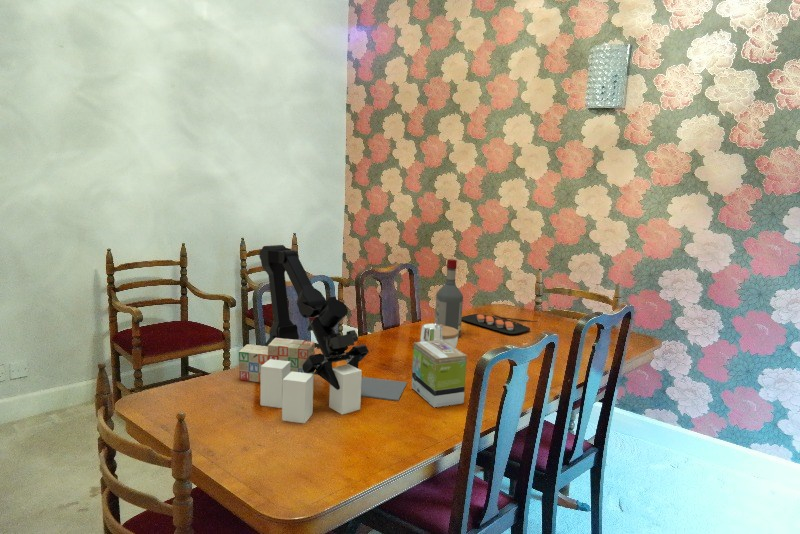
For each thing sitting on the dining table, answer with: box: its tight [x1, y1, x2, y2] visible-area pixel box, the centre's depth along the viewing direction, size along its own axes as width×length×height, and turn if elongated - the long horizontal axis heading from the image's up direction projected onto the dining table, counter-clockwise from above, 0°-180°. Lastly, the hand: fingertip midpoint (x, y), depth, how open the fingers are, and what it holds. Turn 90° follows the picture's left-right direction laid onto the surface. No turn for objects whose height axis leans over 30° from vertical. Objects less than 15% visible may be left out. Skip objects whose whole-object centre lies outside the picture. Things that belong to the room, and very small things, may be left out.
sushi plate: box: [461, 313, 539, 335], centre depth 253 cm, size 29×30×4 cm
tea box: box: [411, 340, 468, 409], centre depth 169 cm, size 15×10×15 cm, turn 24°
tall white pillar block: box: [281, 371, 314, 424], centre depth 151 cm, size 6×6×11 cm
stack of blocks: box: [238, 338, 316, 383], centre depth 174 cm, size 21×6×12 cm, turn 81°
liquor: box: [434, 258, 464, 338], centre depth 228 cm, size 9×9×30 cm
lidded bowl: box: [440, 324, 459, 349], centre depth 206 cm, size 13×13×11 cm
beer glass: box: [419, 323, 442, 342], centre depth 189 cm, size 7×7×15 cm
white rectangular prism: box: [328, 363, 363, 415], centre depth 158 cm, size 6×6×11 cm
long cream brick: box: [259, 359, 291, 409], centre depth 159 cm, size 6×6×11 cm
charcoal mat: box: [361, 376, 408, 402], centre depth 173 cm, size 14×14×1 cm
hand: (348, 386), depth 157 cm, fingers closed on white rectangular prism, 6 cm apart
